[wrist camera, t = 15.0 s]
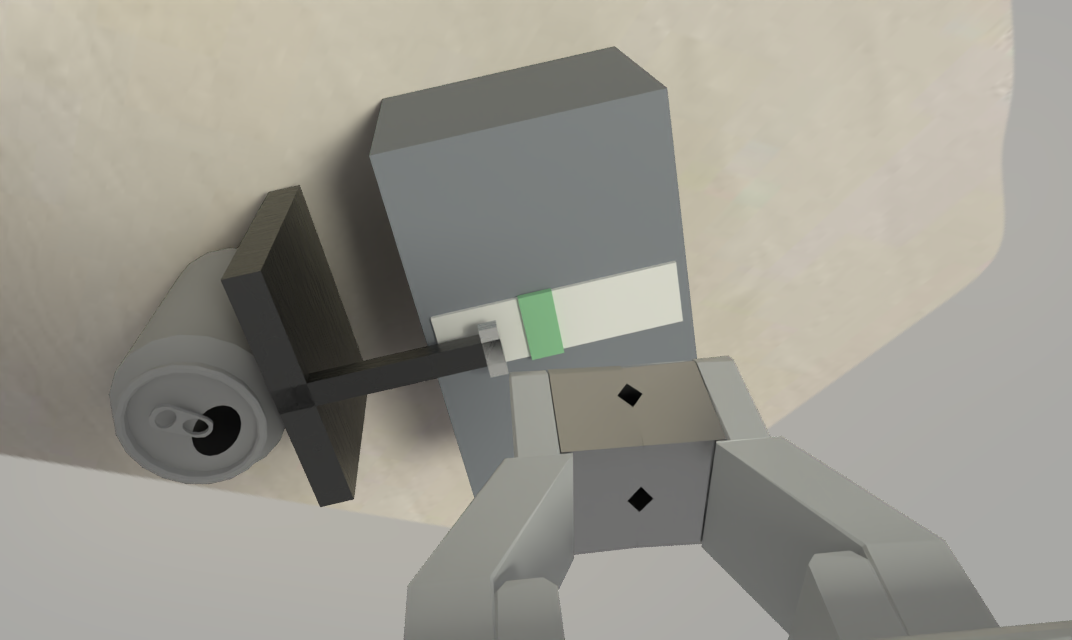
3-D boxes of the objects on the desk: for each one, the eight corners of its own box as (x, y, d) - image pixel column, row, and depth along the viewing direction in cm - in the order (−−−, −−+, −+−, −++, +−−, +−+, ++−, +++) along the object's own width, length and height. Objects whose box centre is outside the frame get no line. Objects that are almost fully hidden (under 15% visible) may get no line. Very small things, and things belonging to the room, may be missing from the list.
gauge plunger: (342, 384, 46) (320, 507, 36) (268, 192, 40) (220, 280, 31) (509, 345, 46) (530, 458, 36) (461, 148, 40) (470, 222, 31)
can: (281, 380, 46) (237, 521, 36) (154, 325, 44) (67, 459, 33) (340, 281, 44) (311, 402, 33) (209, 216, 41) (134, 325, 31)
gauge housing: (466, 389, 48) (475, 503, 39) (382, 98, 39) (368, 158, 30) (656, 345, 48) (708, 448, 39) (614, 46, 40) (669, 90, 30)
